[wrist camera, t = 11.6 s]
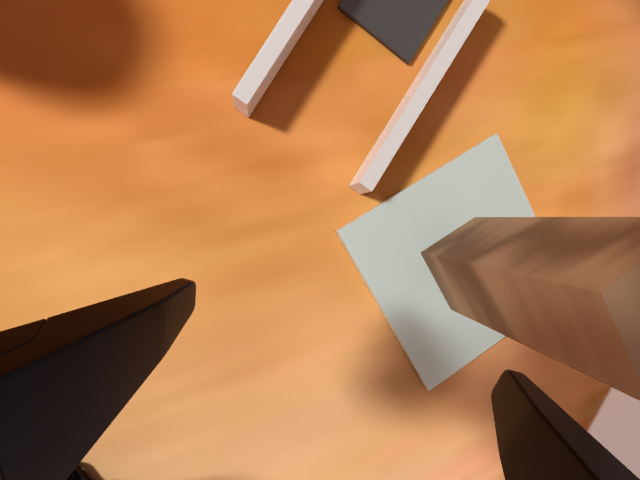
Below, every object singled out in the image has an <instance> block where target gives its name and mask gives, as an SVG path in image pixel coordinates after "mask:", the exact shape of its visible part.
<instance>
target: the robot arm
mask: <svg viewBox="0 0 640 480" xmlns="http://www.w3.org/2000/svg"><path fill="white" fill-rule="evenodd" d="M195 296H196V284H195V282H194V281H191V280H187V279H184V278H180V279H177V280H173V281H170V282H167V283H163V284H160V285H156V286H153V287H150V288H146V289H143V290H140V291H136V292H133V293H130V294H126V295H123V296H119V297H116V298H113V299H109V300H106V301H103V302H99V303H96V304H93V305H89V306H86V307H82V308H79V309H76V310H72V311H69V312H66V313H62V314H59V315H56V316H52V317H49V318H47V320H46V319H42V320H39V321H35V322H32V323H29V324H25V325H22V326H18V327H15V328H11V329H8V330H4V331H0V480H91V479H90V478H89V477H88V475H87V474H86V473H85V472H84V471H83V469H82V468H81V467H80V466H79V465H78V464H79V463H80V462H81V460H82V459H83V458H84V457H85V455H86V454H87V453H88V452H89V450H90V449H91V448H92V447H93V445H94V444H95V443H96V442H97V440H98V439H99V438H100V437H101V435H102V434H103V433H104V431H105V430H106V429H107V428H108V426H109V425H110V424H111V423H112V421H113V420H114V419H115V418H116V416H117V415H118V414H119V413H120V411H121V410H122V409H123V408H124V406H125V405H126V404H127V403H128V401H129V400H130V399H131V398H132V396H133V395H134V394H135V393H136V391H137V390H138V389H139V387H140V386H141V385H142V384H143V382H144V381H145V380H146V379H147V377H148V376H149V375H150V374H151V372H152V371H153V370H154V369H155V367H156V366H157V365H158V364H159V362H160V361H161V360H162V358H163V357H164V356H165V354H166V353H167V351H168V350H169V348H170V347H171V345H172V344H173V342H174V341H175V339H176V338H177V336H178V334H179V333H180V331H181V330H182V328H183V326H184V325H185V323H186V322H187V320H188V319H189V317H190V315H191V314H192V312H193V310H194V307H195ZM491 400H492V407H493V414H494V421H495V428H496V435H497V442H498V449H499V455H500V460H501V464H502V468H503V472H504V476H505V480H640V479H639V478H637V476H635V475H634V474H633V473H632V472H631V471H630V470H629V469H627V467H625V466H624V465H623V464H622V463H621V462H620V461H619V460H618V459H617V458H615V457H614V456H613V455H612V454H611V453H610V452H609V451H608V450H607V449H605V448H604V447H603V446H602V445H601V444H600V443H599V442H598V441H597V440H596V439H595V438H593V437H592V436H591V435H590V434H589V433H588V432H587V431H586V430H585V429H584V428H583V427H581V426H580V425H579V424H578V423H577V422H576V421H575V420H574V419H573V418H571V417H570V416H569V415H568V414H567V413H566V412H565V411H564V410H563V409H562V408H560V407H559V406H558V405H557V404H556V403H555V402H554V401H553V400H552V399H551V398H549V397H548V396H547V395H546V394H545V393H544V392H543V391H542V390H541V389H540V388H538V387H537V386H536V385H535V384H534V383H533V382H532V381H531V380H530V379H529V378H527V377H526V376H525V375H524V374H522V373H520V372H516V371H512V370H505V371H504V372H503V373H502V375H501V376H500V378H499V380H498V382H497V383H496V385H495V387H494V388H493V391H492V395H491ZM71 473H73V475H70V474H71Z"/></svg>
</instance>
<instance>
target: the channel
mask: <svg viewBox="0 0 640 480" xmlns="http://www.w3.org/2000/svg"><path fill="white" fill-rule="evenodd" d="M323 1H324V0H292V2H291V3H290V5H289V6H288V8H287V9H286V11H285V12H284V14H283V15H282V17H281V19H280V20H279V22H278V23H277V25H276V26H275V28H274V29H273V31H272V32H271V34H270V36H269V37H268V39H267V40H266V42H265V43H264V45H263V46H262V48H261V50H260V51H259V53H258V54H257V56H256V57H255V59H254V60H253V62H252V63H251V65H250V67H249V68H248V70H247V71H246V73H245V74H244V76H243V77H242V79H241V80H240V82H239V84H238V85H237V87H236V88H235V90H234V91H233V93H232V97H233V102H234V106H235V109H236V110H238V111H239V112H241V113H242V114H244V115H245V116H247V117H248V118H249V116H250V115H251V113H252V112H253V110H254V109H255V107H256V105H257V104H258V102H259V101H260V99H261V98H262V96H263V95H264V93H265V91H266V90H267V88H268V87H269V85H270V84H271V82H272V81H273V79H274V77H275V76H276V74H277V73H278V71H279V70H280V68H281V66H282V65H283V63H284V62H285V60H286V59H287V57H288V56H289V54H290V52H291V51H292V49H293V48H294V46H295V45H296V43H297V42H298V40H299V38H300V37H301V35H302V34H303V32H304V31H305V29H306V28H307V26H308V24H309V23H310V21H311V20H312V18H313V17H314V15H315V14H316V12H317V10H318V9H319V7H320V6H321V4H322V3H323ZM489 1H490V0H464V1H463V3H462V4H461V6H460V7H459V9H458V11H457V12H456V14H455V16H454V17H453V19H452V20H451V22H450V24H449V25H448V27H447V28H446V30H445V32H444V33H443V35H442V36H441V38H440V40H439V41H438V43H437V45H436V46H435V48H434V49H433V51H432V53H431V54H430V56H429V57H428V59H427V61H426V62H425V64H424V65H423V67H422V69H421V70H420V72H419V74H418V75H417V77H416V78H415V80H414V82H413V83H412V85H411V86H410V88H409V90H408V91H407V93H406V94H405V96H404V98H403V99H402V101H401V102H400V104H399V106H398V107H397V109H396V111H395V112H394V114H393V115H392V117H391V119H390V120H389V122H388V123H387V125H386V127H385V128H384V130H383V131H382V133H381V135H380V136H379V138H378V140H377V141H376V143H375V144H374V146H373V148H372V149H371V151H370V152H369V154H368V156H367V157H366V159H365V160H364V162H363V164H362V165H361V167H360V169H359V170H358V172H357V173H356V175H355V177H354V178H353V180H352V181H351V183H350V185H349V187H350V188H352V189H353V190H355V191H356V192H358V193H359V194H363V193H367V192H372V191H373V189H374V188H375V186H376V184H377V183H378V181H379V180H380V178H381V176H382V175H383V173H384V171H385V170H386V168H387V167H388V165H389V163H390V162H391V160H392V158H393V157H394V155H395V154H396V152H397V150H398V149H399V147H400V146H401V144H402V142H403V141H404V139H405V137H406V136H407V134H408V133H409V131H410V129H411V128H412V126H413V124H414V123H415V121H416V120H417V118H418V116H419V115H420V113H421V112H422V110H423V108H424V107H425V105H426V103H427V102H428V100H429V99H430V97H431V95H432V94H433V92H434V90H435V89H436V87H437V86H438V84H439V82H440V81H441V79H442V77H443V76H444V74H445V73H446V71H447V69H448V68H449V66H450V65H451V63H452V61H453V60H454V58H455V56H456V55H457V53H458V52H459V50H460V48H461V47H462V45H463V43H464V42H465V40H466V39H467V37H468V35H469V34H470V32H471V31H472V29H473V27H474V26H475V24H476V22H477V21H478V19H479V18H480V16H481V14H482V13H483V11H484V9H485V8H486V6H487V5H488V3H489ZM447 2H448V0H342V1H341V3H340V4H339V6H338V9H339V10H341V11H342V12H343V13H344V14H346V15H347V16H348V17H349V18H351V19H352V20H353V21H354V22H356V23H357V24H358V25H359V26H360V27H362V28H363V29H364V30H365V31H367V32H368V33H369V34H370V35H372V36H373V37H374V38H375V39H377V40H378V41H379V42H380V43H381V44H383V45H384V46H385V47H386V48H388V49H389V50H390V51H391V52H393V53H394V54H395V55H396V56H398V57H399V58H400V59H401V60H402V61H404V62H405V63H406V64H407V65H408V64H409V63H410V61H411V59H412V58H413V56H414V55H415V53H416V51H417V50H418V48H419V47H420V45H421V43H422V42H423V40H424V39H425V37H426V35H427V34H428V32H429V31H430V29H431V27H432V26H433V24H434V23H435V21H436V19H437V18H438V16H439V15H440V13H441V11H442V10H443V8H444V7H445V5H446V3H447Z"/></svg>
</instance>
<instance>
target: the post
mask: <svg viewBox="0 0 640 480" xmlns="http://www.w3.org/2000/svg"><path fill="white" fill-rule="evenodd" d="M420 253H421V255H422V257H423V259H424V260H425V262H426V264H427V266H428V268H429V270H430V272H431V273H432V275H433V277H434V279H435V281H436V283H437V285H438V287H439V288H440V290H441V292H442V294H443V296H444V298H445V300H446V301H447V303H448V305H449V307H450V309H451V310H453V311H455V312H457V313H459V314H461V315H463V316H466V317H468V318H470V319H472V320H474V321H476V322H478V323H480V324H482V325H484V326H486V327H488V328H490V329H492V330H495V331H497V332H499V333H501V334H503V335H505V336H507V337H509V338H511V339H513V340H515V341H517V342H519V343H522V344H524V345H526V346H528V347H530V348H532V349H534V350H536V351H538V352H540V353H542V354H544V355H546V356H548V357H551V358H553V359H555V360H557V361H559V362H561V363H563V364H565V365H567V366H569V367H571V368H573V369H575V370H578V371H580V372H582V373H584V374H586V375H588V376H590V377H592V378H594V379H596V380H598V381H600V382H602V383H604V384H607V385H609V386H611V387H613V388H615V389H617V390H619V391H621V392H623V393H626V394H627V395H629V396H631V397H634V398H636V399H638V400H640V217H474V218H473V219H471V220H470V221H468V222H467V223H465V224H464V225H462V226H460V227H459V228H457V229H456V230H454V231H453V232H451V233H450V234H448V235H447V236H445V237H444V238H442V239H440V240H439V241H437V242H436V243H434V244H433V245H431V246H430V247H428V248H427V249H425V250H424V251H422V252H420Z"/></svg>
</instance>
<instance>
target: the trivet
mask: <svg viewBox="0 0 640 480" xmlns="http://www.w3.org/2000/svg"><path fill="white" fill-rule="evenodd" d="M474 217H536V216H535V214H534V212H533V210H532V208H531V206H530V203H529V201H528V199H527V197H526V195H525V193H524V190H523V188H522V186H521V184H520V182H519V179H518V177H517V175H516V173H515V171H514V169H513V166H512V164H511V162H510V160H509V158H508V155H507V153H506V151H505V149H504V147H503V145H502V142H501V140H500V138H499V136H498V134H497V133H496V134H493V135H491V136H489V137H488V138H486V139H484V140H483V141H481V142H479V143H478V144H476V145H474V146H473V147H471V148H470V149H468V150H466V151H465V152H463V153H461V154H460V155H458V156H457V157H455V158H453V159H452V160H450V161H448V162H447V163H445V164H444V165H442V166H440V167H439V168H437V169H435V170H434V171H432V172H430V173H429V174H427V175H426V176H424V177H422V178H421V179H419V180H417V181H416V182H414V183H413V184H411V185H409V186H408V187H406V188H404V189H403V190H401V191H400V192H398V193H396V194H395V195H393V196H391V197H390V198H388V199H386V200H385V201H383V202H382V203H380V204H378V205H377V206H375V207H373V208H372V209H370V210H369V211H367V212H365V213H364V214H362V215H360V216H359V217H357V218H356V219H354V220H352V221H351V222H349V223H347V224H346V225H344V226H342V227H341V228H339V229H338V230H336V233H337V235H338V236H339V238H340V240H341V242H342V243H343V245H344V247H345V249H346V250H347V252H348V254H349V256H350V257H351V259H352V261H353V262H354V264H355V266H356V268H357V269H358V271H359V273H360V275H361V276H362V278H363V280H364V282H365V283H366V285H367V287H368V289H369V290H370V292H371V294H372V296H373V297H374V299H375V301H376V302H377V304H378V306H379V308H380V309H381V311H382V313H383V315H384V316H385V318H386V320H387V322H388V323H389V325H390V327H391V329H392V330H393V332H394V334H395V335H396V337H397V339H398V341H399V342H400V344H401V346H402V348H403V349H404V351H405V353H406V355H407V356H408V358H409V360H410V362H411V363H412V365H413V367H414V369H415V370H416V372H417V374H418V375H419V377H420V379H421V381H422V382H423V384H424V386H425V387H426V388H427V389H428V390H429V391H430V390H432V389H433V388H434V387H436V386H437V385H439V384H440V383H441V382H443V381H444V380H446V379H447V378H448V377H450V376H451V375H453V374H454V373H455V372H457V371H458V370H460V369H461V368H462V367H464V366H465V365H467V364H468V363H469V362H471V361H472V360H474V359H475V358H476V357H478V356H479V355H481V354H482V353H483V352H485V351H486V350H487V349H489V348H490V347H492V346H493V345H494V344H496V343H497V342H499V341H500V340H501V339H503V338H504V337H506V336H505V335H503V334H501V333H499V332H497V331H495V330H492V329H490V328H488V327H486V326H484V325H482V324H480V323H478V322H476V321H474V320H472V319H470V318H468V317H466V316H463V315H461V314H459V313H457V312H455V311H453V310H451V309H450V307H449V305H448V303H447V301H446V300H445V298H444V296H443V294H442V292H441V290H440V288H439V287H438V285H437V283H436V281H435V279H434V277H433V275H432V273H431V272H430V270H429V268H428V266H427V264H426V262H425V260H424V259H423V257H422V255H421V253H420V252H422V251H424V250H425V249H427V248H428V247H430V246H431V245H433V244H434V243H436V242H437V241H439V240H440V239H442V238H444V237H445V236H447V235H448V234H450V233H451V232H453V231H454V230H456V229H457V228H459V227H460V226H462V225H464V224H465V223H467V222H468V221H470V220H471V219H473V218H474Z"/></svg>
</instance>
